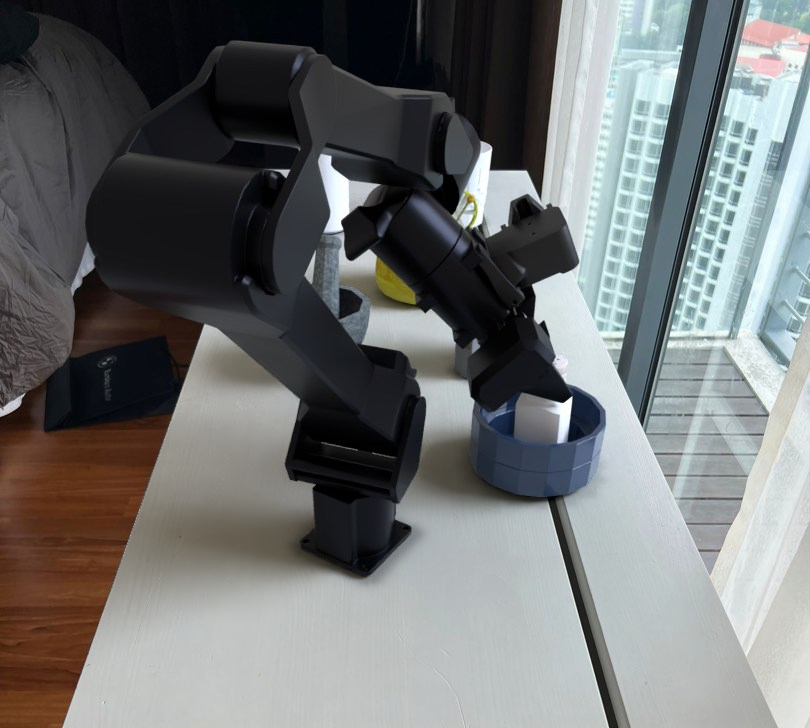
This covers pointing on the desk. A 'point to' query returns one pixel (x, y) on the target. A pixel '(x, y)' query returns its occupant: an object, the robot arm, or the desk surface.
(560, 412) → the pepper shaker
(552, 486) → the bowl
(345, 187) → the can
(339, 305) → the mortar and pestle
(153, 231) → the robot arm
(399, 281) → the mug
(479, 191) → the white cup
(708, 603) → the desk surface
